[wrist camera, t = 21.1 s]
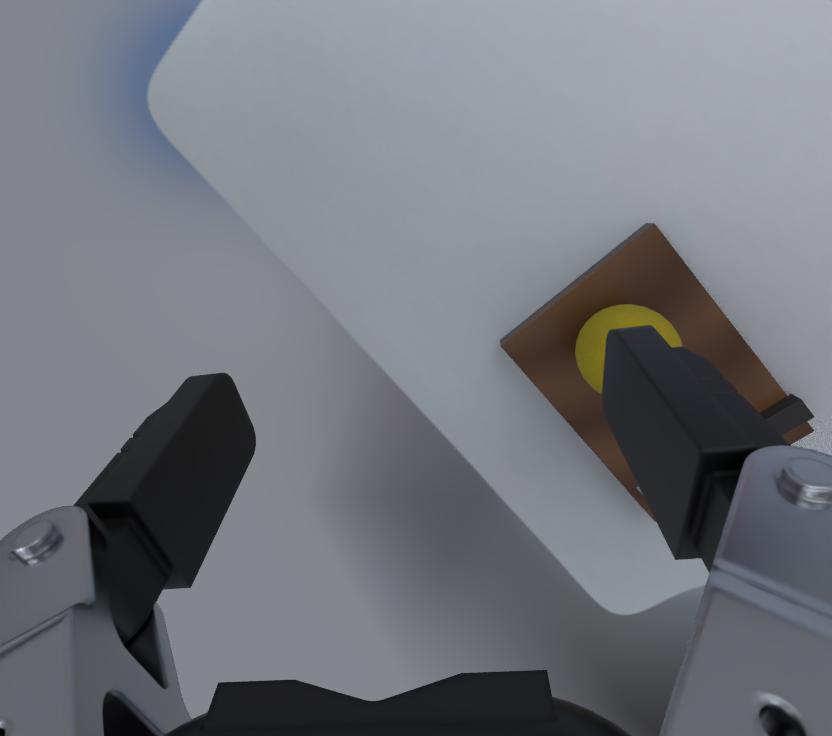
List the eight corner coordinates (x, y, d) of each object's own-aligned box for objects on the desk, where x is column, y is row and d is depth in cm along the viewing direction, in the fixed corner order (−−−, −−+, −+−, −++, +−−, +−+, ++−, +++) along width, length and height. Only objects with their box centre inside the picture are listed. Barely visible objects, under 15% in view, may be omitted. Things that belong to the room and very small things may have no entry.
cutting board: (499, 340, 33) (500, 346, 32) (646, 222, 30) (654, 223, 28) (648, 510, 36) (655, 522, 34) (800, 421, 32) (814, 431, 31)
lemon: (608, 277, 30) (651, 297, 22) (671, 331, 30) (734, 369, 22) (547, 340, 31) (568, 380, 24) (608, 390, 32) (647, 445, 24)
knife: (651, 504, 34) (656, 512, 33) (634, 485, 34) (639, 493, 33) (806, 412, 30) (816, 419, 30) (789, 391, 30) (799, 396, 29)
